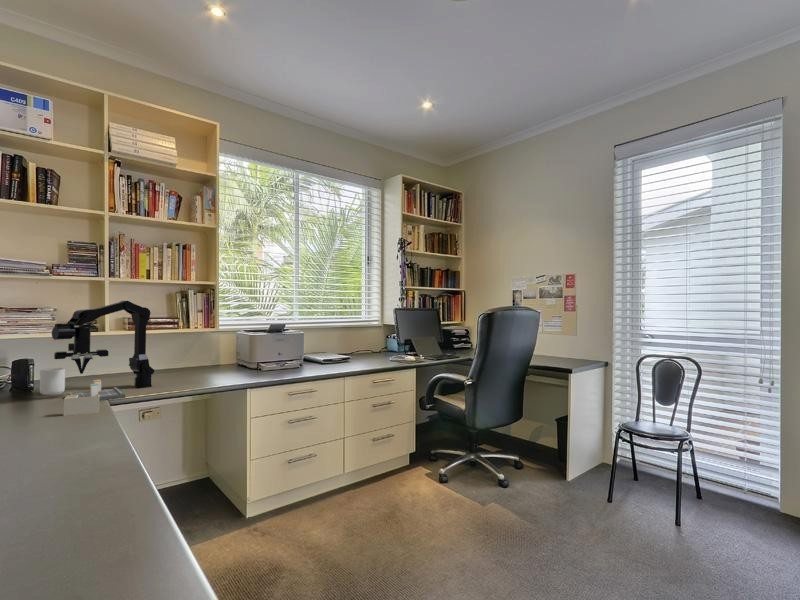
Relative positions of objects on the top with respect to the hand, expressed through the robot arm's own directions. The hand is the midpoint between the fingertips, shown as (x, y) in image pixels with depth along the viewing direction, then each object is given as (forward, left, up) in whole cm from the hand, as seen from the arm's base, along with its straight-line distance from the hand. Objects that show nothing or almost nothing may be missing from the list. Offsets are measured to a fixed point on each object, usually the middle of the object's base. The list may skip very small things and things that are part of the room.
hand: (81, 373), depth 182 cm
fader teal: (-4, +10, -8) cm, 13 cm away
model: (+3, +34, -11) cm, 36 cm away
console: (-5, +5, -10) cm, 12 cm away
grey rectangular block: (-6, 0, -8) cm, 10 cm away
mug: (+8, -19, -11) cm, 23 cm away
